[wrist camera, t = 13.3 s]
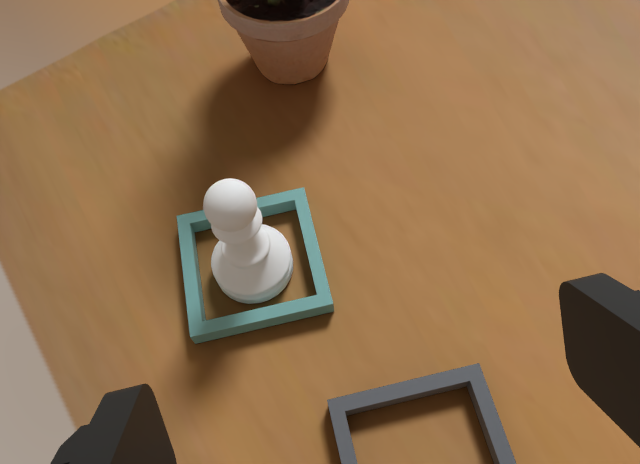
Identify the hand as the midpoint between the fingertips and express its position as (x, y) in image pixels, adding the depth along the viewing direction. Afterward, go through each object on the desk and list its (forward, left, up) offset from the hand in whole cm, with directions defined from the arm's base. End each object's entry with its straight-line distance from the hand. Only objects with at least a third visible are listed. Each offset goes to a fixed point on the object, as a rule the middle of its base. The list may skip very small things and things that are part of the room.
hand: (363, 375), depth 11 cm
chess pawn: (+4, -14, -22) cm, 27 cm away
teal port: (+4, -15, -22) cm, 27 cm away
